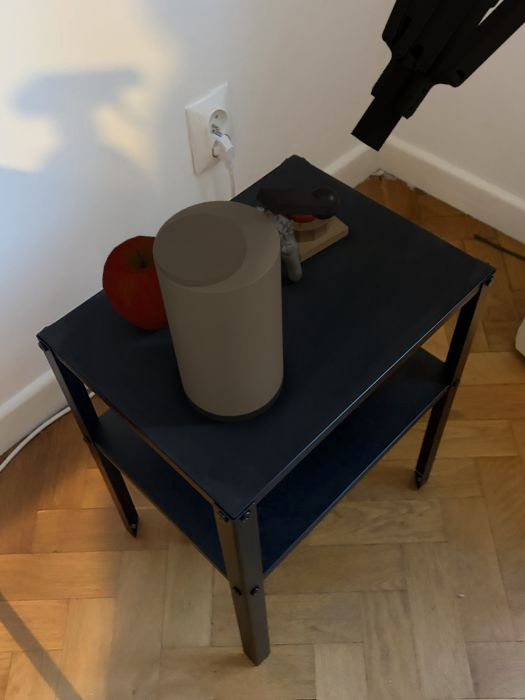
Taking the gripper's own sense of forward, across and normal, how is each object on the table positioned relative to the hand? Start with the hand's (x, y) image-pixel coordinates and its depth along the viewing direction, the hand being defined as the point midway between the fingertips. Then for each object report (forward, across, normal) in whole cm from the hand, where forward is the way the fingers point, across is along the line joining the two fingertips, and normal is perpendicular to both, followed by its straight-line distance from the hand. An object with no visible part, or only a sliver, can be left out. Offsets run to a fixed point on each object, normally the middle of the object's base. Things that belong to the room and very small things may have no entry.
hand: (364, 142), depth 60 cm
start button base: (+13, +12, -17) cm, 25 cm away
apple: (+27, +11, -3) cm, 30 cm away
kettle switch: (+8, 0, +2) cm, 8 cm away
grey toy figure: (+19, +10, -11) cm, 24 cm away
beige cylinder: (+26, 0, -4) cm, 26 cm away
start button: (+11, +12, -16) cm, 22 cm away
